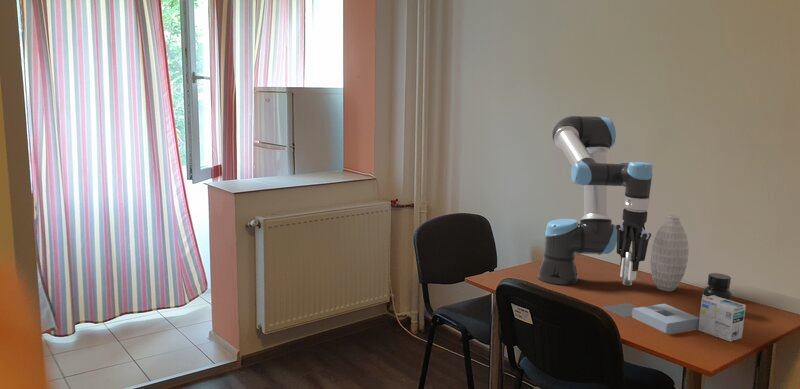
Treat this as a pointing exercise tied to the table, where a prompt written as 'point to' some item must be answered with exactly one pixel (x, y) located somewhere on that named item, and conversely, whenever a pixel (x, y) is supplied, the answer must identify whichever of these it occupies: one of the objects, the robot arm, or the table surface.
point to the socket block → (666, 318)
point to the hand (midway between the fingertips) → (627, 277)
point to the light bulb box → (721, 318)
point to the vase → (669, 254)
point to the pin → (627, 268)
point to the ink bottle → (718, 286)
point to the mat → (621, 309)
